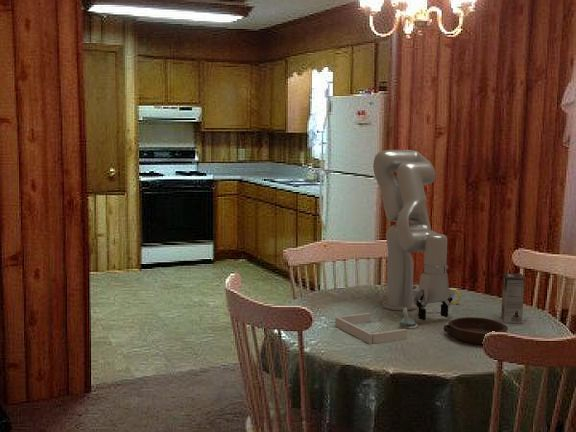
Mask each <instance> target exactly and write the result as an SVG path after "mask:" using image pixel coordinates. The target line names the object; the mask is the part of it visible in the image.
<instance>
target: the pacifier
mask: <svg viewBox="0 0 576 432" xmlns="http://www.w3.org/2000/svg"><path fill="white" fill-rule="evenodd" d="M408 311H409V310H407V309H406V308H405V309H404V310H403V311H402V314H403V316H404V317H403V318H402V319H401V321H400V322H398V324H399V325H401V326H403V328H404V329H406V328H407V329H409V330H410V329H411V330H412V329H417V328H418V327H419V324H418V323H416V322H415V319H414V318H413V317H410V316H409V312H408Z"/></svg>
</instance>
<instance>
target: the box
mask: <svg viewBox="0 0 576 432" xmlns="http://www.w3.org/2000/svg"><path fill="white" fill-rule="evenodd" d="M371 317H372V316H371V312H365V313H355V314H349V315H342V316H341V315H340V316H335V318H334V326H335V327H337V328H339V329H340V330H342V331H345V332H346V333H349V334H350V335H352V336H354V337H356V338H357V339H359V340H361V341H364V342H365V343H367V344H369V345H374V344H383V343H387V342H388V343H390V342H394V341H401V340H407V333H408V331H407V329H406V328H402V329H394V330H387V331H378V332H374V333H372V332H370V331H368V330H366V329H363V328H361V327H360V326H357V325H358V324H364V323H365V324H366V323H371Z"/></svg>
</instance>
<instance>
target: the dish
mask: <svg viewBox="0 0 576 432" xmlns="http://www.w3.org/2000/svg"><path fill="white" fill-rule="evenodd" d="M508 329H509V328H508V326H507V325H506V323H504V322H501V321H497V320H494V319H490V318H484V317H473V316H472V317H470V316H468V317H466V316H465V317H459V318H454V319H450V321H448V324H445V325H443V331H444V332H445V333H448V334H451V335H453V336H454V337H455V338H456V339H457V340H460V341H462V342H466V343H469V344H474V345H483V344H482V342H483V339H484V336H485V334H487V333H489V332H492V331H495V332H506V333H507V331H508Z"/></svg>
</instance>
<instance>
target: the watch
mask: <svg viewBox="0 0 576 432" xmlns="http://www.w3.org/2000/svg"><path fill="white" fill-rule="evenodd" d="M449 290H451V291H453V292H454V293H457V295H458V300H457V302H452V301H451V303H450V305H457V304H459V302H460V301H461V299H462V298H461V297H462V296H461V294H460V292H459V290H458V289H457V288H455V287H450V288H449Z"/></svg>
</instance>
